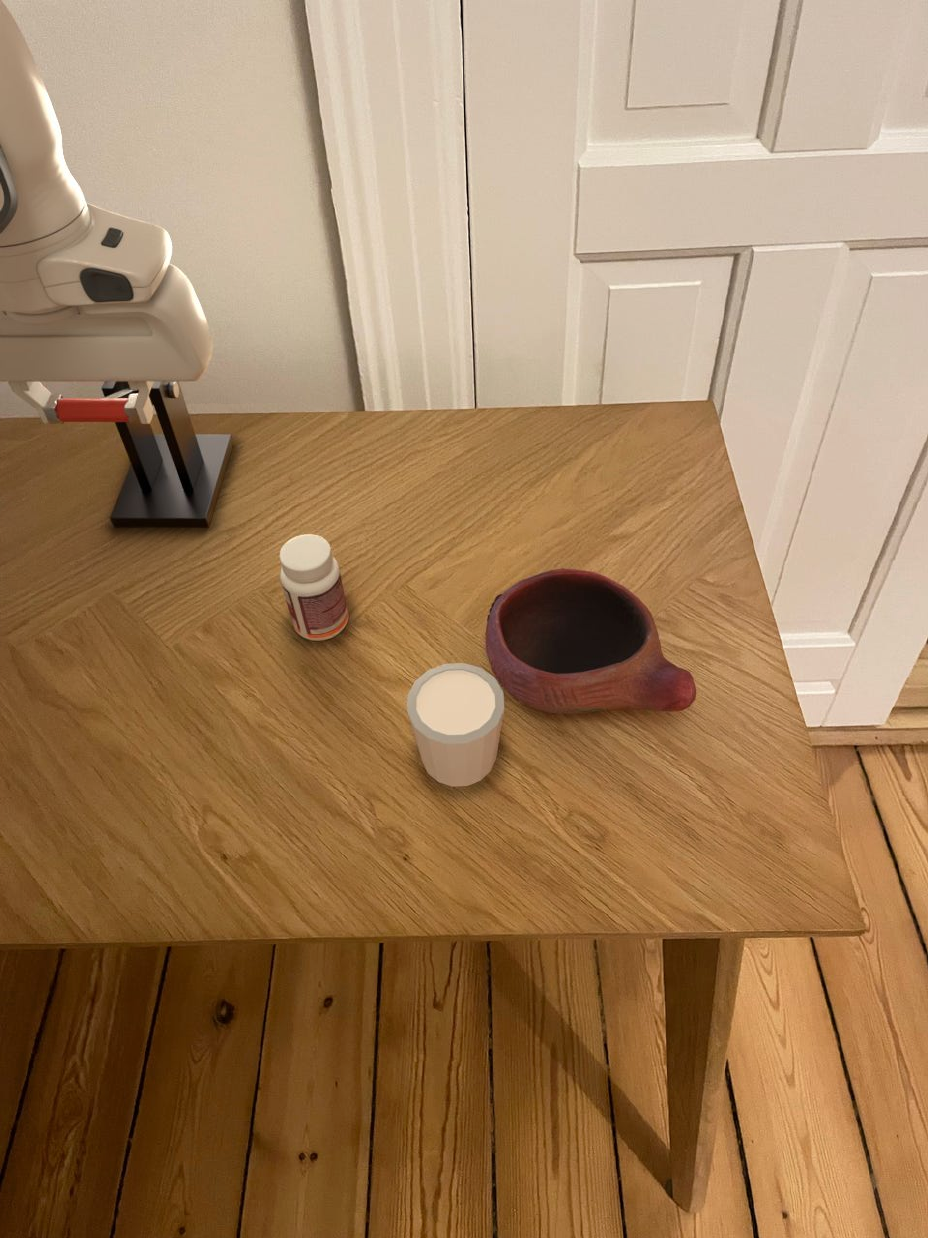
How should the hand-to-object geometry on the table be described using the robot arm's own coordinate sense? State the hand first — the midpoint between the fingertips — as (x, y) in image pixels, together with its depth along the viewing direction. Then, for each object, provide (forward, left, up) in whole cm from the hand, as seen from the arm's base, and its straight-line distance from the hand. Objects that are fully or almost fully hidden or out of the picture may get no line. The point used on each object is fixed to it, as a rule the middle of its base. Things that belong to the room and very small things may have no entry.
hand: (100, 419), depth 74 cm
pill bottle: (+11, -15, -15) cm, 24 cm away
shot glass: (+16, -32, -15) cm, 38 cm away
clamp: (+4, +8, -15) cm, 17 cm away
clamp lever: (+2, +4, -3) cm, 5 cm away
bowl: (+28, -30, -15) cm, 43 cm away
